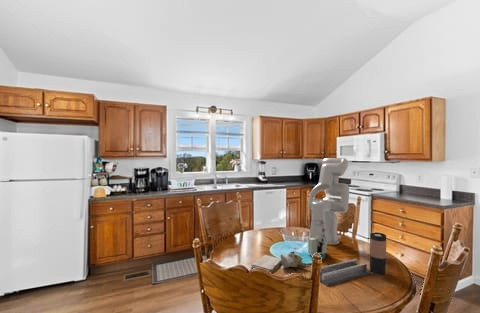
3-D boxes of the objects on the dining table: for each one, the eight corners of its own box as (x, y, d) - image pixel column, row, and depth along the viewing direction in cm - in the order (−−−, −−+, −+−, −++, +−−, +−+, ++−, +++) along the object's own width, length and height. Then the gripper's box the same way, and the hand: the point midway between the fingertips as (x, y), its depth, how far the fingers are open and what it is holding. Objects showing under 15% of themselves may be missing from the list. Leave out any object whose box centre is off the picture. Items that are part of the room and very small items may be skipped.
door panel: (323, 251, 155) (323, 235, 155) (326, 252, 152) (326, 237, 152) (308, 254, 150) (308, 238, 150) (311, 256, 147) (311, 239, 147)
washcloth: (250, 269, 131) (250, 264, 131) (264, 257, 146) (264, 252, 146) (270, 275, 125) (270, 269, 125) (283, 262, 140) (283, 257, 140)
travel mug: (385, 276, 124) (386, 237, 124) (368, 272, 128) (369, 235, 128) (386, 270, 130) (386, 233, 130) (369, 267, 134) (370, 231, 134)
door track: (351, 264, 138) (352, 257, 138) (371, 273, 127) (371, 266, 127) (310, 274, 125) (310, 266, 125) (327, 286, 114) (327, 277, 114)
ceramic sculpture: (278, 247, 138) (302, 248, 140) (276, 263, 138) (301, 262, 141) (284, 255, 127) (311, 255, 130) (283, 272, 127) (310, 271, 130)
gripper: (332, 224, 145) (332, 255, 145) (313, 217, 159) (313, 245, 160) (322, 226, 141) (322, 257, 142) (304, 219, 156) (304, 247, 157)
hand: (317, 250), depth 151 cm, fingers closed on door panel, 3 cm apart
